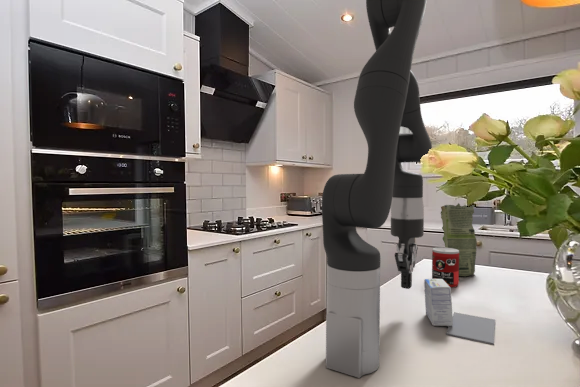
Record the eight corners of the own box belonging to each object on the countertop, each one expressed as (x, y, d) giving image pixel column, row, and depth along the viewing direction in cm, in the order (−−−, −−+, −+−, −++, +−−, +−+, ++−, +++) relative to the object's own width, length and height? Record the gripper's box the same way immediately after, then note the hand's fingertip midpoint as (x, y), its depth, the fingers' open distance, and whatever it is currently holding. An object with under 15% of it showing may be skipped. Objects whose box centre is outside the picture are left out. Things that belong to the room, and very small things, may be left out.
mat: (493, 344, 68) (493, 343, 68) (446, 334, 72) (446, 333, 72) (495, 320, 80) (495, 319, 80) (454, 313, 84) (454, 312, 84)
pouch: (439, 274, 120) (440, 203, 120) (443, 267, 130) (444, 201, 130) (475, 279, 115) (476, 204, 114) (476, 271, 125) (477, 202, 124)
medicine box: (453, 327, 75) (451, 287, 75) (431, 326, 76) (430, 287, 76) (444, 314, 83) (443, 278, 83) (425, 313, 84) (423, 278, 84)
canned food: (427, 283, 109) (428, 249, 109) (438, 279, 115) (439, 246, 114) (452, 289, 104) (452, 253, 103) (462, 284, 109) (463, 249, 109)
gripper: (417, 219, 75) (416, 298, 76) (428, 214, 86) (428, 283, 87) (383, 218, 79) (382, 292, 80) (398, 213, 90) (397, 278, 91)
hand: (406, 287), depth 83 cm, fingers closed
